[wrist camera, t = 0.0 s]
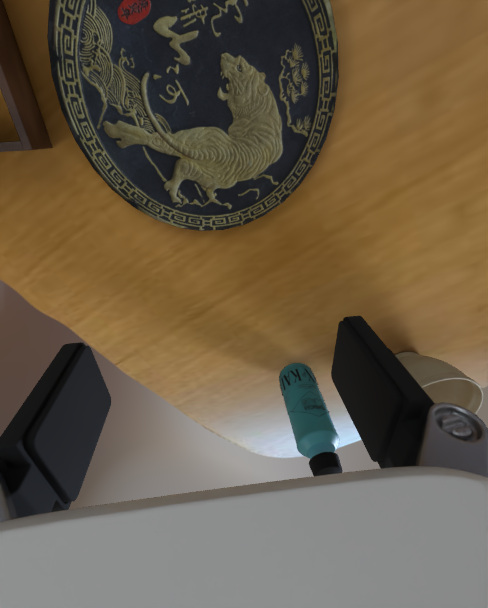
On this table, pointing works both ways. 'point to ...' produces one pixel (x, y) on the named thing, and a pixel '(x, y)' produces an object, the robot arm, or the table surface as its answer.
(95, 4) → the decorative plate
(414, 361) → the planter bowl
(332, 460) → the beverage bottle
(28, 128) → the wooden box
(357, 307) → the table surface
